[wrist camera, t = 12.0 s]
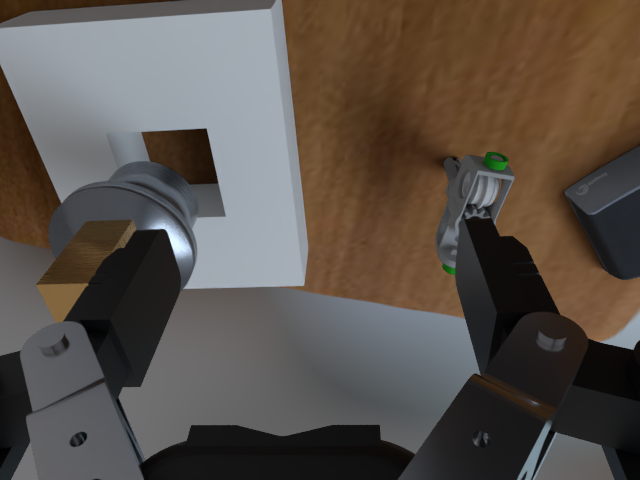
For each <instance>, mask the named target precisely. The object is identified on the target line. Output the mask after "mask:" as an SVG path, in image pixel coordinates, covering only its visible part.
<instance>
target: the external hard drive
mask: <svg viewBox="0 0 640 480" xmlns="http://www.w3.org/2000/svg"><path fill="white" fill-rule="evenodd" d="M564 193H565V196H566V197H567V199H568V201H569V203H570V204H571V207H572V209H573V211H574V212H575V214H576V216H577V218H578V220H579V222H580V224H581V225H582V227H583V230H584V231H585V233H586V235H587V237H588V239H589V241H590V243H591V244H592V246H593V248H594V250H595V252H596V254H597V256H598V258H599V260H600V261H601V263H602V265H603V267H604V269H605V271H607V272H608V273H609V274H611V275H612V276H614V277H616V278H618V279H621V280H629V279H633V278H637V277H640V146H638V147H636V148H634V149H633V150H631V151H629V152H627V153H625V154H624V155H622V156H620V157H618V158H617V159H615V160H613V161H611V162H610V163H608V164H606V165H605V166H603V167H601V168H599V169H598V170H596V171H594V172H593V173H591V174H589V175H588V176H586V177H585V178H583V179H581V180H580V181H578V182H577V183H575V184H573V185H572V186H570V187H569V188H568V189H566V190H565V191H564Z"/></svg>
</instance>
